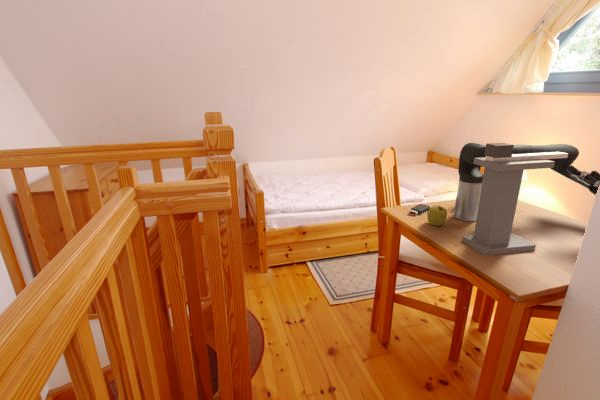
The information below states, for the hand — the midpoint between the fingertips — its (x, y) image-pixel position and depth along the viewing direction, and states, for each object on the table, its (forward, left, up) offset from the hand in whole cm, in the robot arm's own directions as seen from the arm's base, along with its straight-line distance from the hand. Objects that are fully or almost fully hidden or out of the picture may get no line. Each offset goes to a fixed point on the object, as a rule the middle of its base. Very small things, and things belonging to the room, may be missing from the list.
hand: (579, 170), depth 115 cm
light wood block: (-17, -14, +5) cm, 23 cm away
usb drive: (-54, +5, -27) cm, 60 cm away
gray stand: (-21, -17, -27) cm, 38 cm away
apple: (-44, -7, -27) cm, 52 cm away
